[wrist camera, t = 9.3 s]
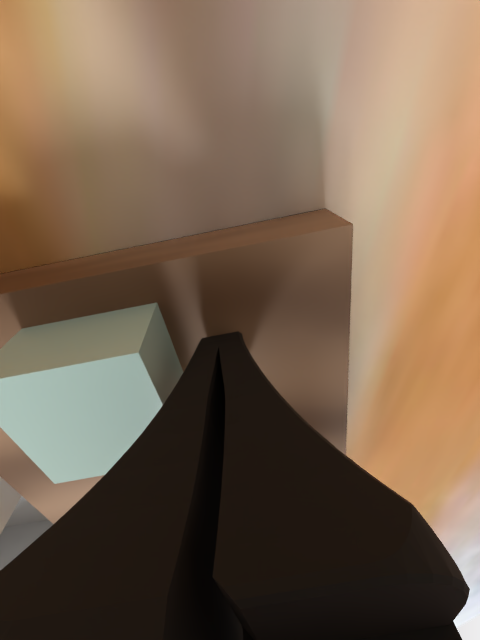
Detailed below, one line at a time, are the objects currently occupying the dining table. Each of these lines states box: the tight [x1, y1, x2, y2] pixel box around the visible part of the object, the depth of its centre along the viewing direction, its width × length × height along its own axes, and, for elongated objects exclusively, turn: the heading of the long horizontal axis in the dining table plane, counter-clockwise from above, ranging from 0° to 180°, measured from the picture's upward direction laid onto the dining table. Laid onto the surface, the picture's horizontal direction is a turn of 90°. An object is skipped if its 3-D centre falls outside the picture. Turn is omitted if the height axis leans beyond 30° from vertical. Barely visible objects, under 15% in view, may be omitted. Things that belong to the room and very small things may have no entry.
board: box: [0, 209, 353, 524], centre depth 14 cm, size 17×16×2 cm
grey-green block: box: [0, 303, 183, 484], centre depth 9 cm, size 4×4×3 cm
